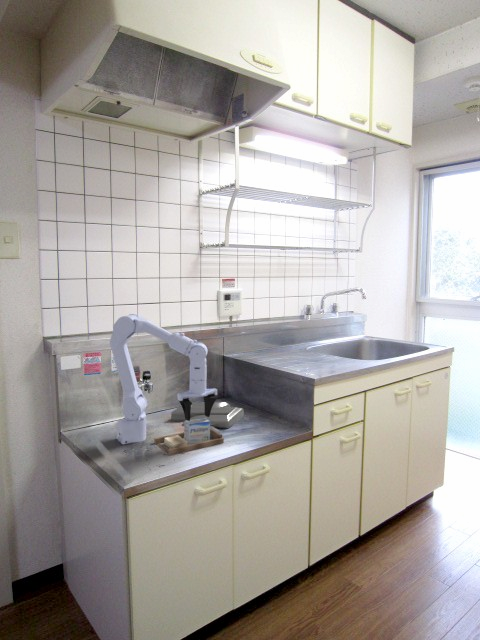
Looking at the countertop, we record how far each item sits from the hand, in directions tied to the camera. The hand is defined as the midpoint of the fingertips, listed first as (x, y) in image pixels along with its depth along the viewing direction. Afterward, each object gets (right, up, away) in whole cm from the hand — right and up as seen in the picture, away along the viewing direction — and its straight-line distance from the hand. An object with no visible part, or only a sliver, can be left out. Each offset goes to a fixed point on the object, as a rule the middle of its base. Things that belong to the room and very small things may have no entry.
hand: (197, 418), depth 148 cm
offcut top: (-7, -8, -4) cm, 11 cm away
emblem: (+2, -7, +28) cm, 29 cm away
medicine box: (0, -10, +1) cm, 10 cm away
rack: (-3, -10, -1) cm, 10 cm away
